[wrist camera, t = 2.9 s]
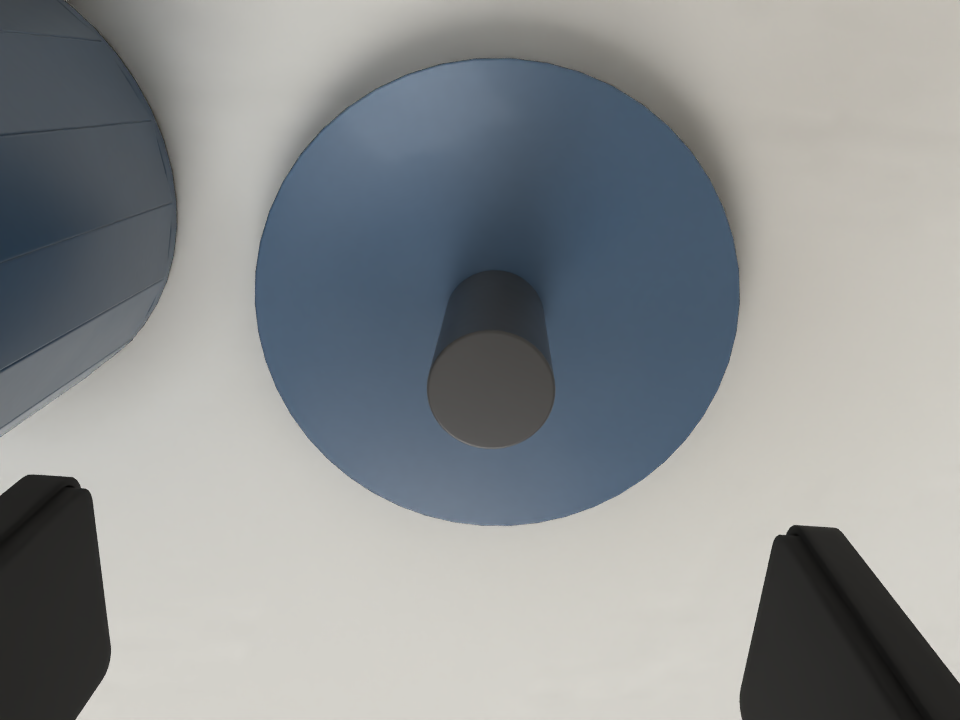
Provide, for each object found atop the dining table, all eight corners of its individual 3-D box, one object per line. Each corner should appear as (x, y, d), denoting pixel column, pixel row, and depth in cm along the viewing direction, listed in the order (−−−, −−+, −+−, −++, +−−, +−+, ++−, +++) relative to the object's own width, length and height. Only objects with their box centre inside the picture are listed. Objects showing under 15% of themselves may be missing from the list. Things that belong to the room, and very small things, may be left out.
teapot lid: (829, 242, 23) (961, 306, 17) (552, 577, 28) (567, 735, 21) (419, -52, 21) (378, -118, 14) (188, 365, 25) (73, 468, 19)
